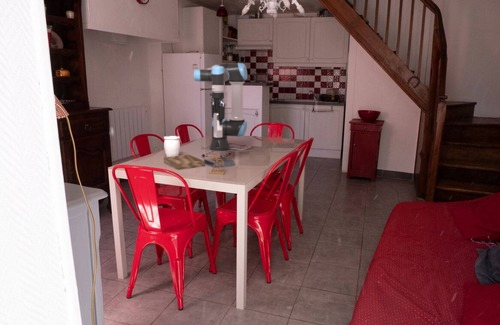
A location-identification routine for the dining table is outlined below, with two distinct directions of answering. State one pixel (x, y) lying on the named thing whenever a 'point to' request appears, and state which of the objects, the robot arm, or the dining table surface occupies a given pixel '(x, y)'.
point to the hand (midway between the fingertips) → (217, 129)
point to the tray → (184, 162)
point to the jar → (172, 145)
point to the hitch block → (226, 162)
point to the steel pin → (216, 127)
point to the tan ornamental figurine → (217, 167)
